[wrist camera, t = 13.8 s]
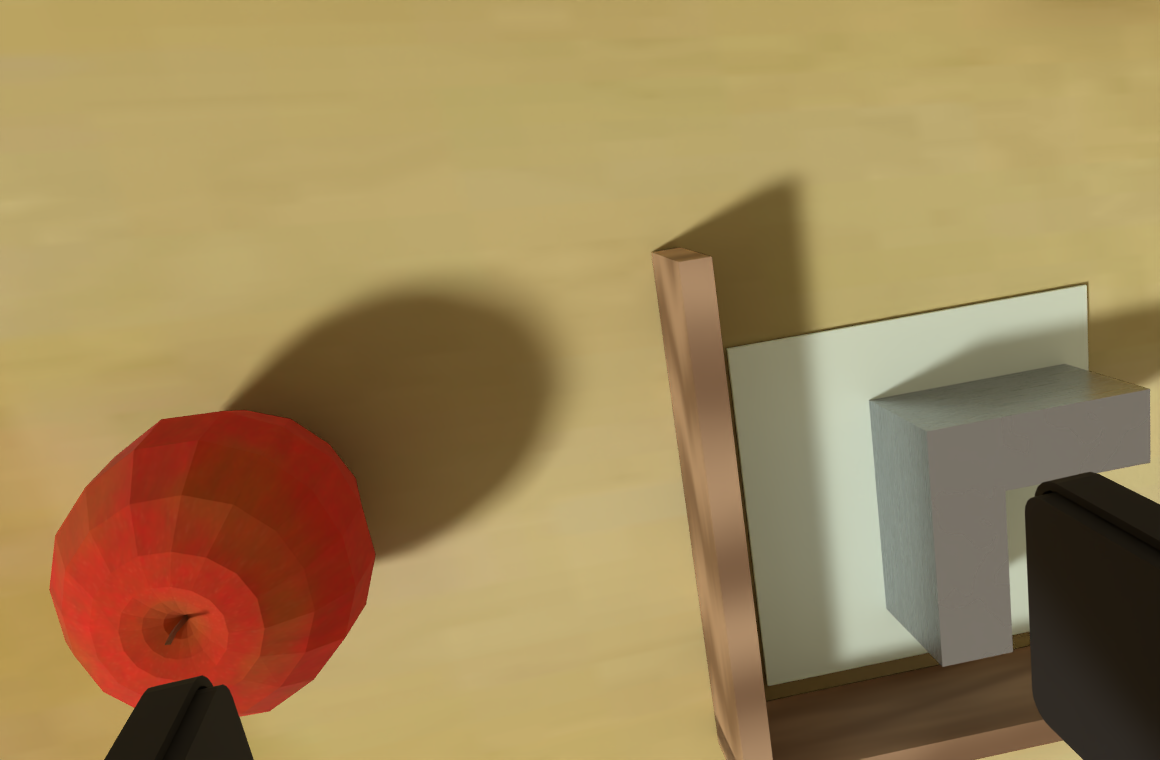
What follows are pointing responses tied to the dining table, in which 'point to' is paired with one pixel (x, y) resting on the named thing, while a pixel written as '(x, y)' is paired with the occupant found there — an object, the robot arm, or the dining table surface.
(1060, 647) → the robot arm
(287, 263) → the dining table surface
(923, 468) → the bracket
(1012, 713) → the wooden corner frame
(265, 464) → the apple
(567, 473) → the dining table surface
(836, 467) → the mat
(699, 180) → the dining table surface
